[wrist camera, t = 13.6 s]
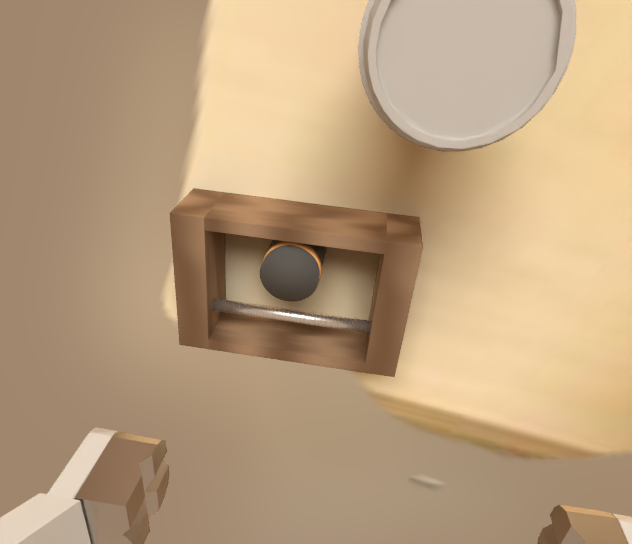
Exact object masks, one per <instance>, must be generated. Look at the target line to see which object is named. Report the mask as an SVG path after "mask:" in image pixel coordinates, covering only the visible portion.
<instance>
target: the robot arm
mask: <svg viewBox="0 0 632 544" xmlns="http://www.w3.org/2000/svg"><path fill="white" fill-rule="evenodd" d="M166 452H167V448H166V441H165V440H160V439H155V438H149V437H144V436H139V435H134V434H129V433H124V432H119V431H113V430H107V429H101V428H94V429H93V430H92V431H91V432H90V433H88V435H87V436H86V437H85V439H84V440H83V442H82V443H81V445H80V446H79V448H78V449H77V451H76V452H75V454H74V455H73V457H72V458H71V459H70V461H69V462H68V464H67V466H66V467H65V468H64V470H63V471H62V473H61V474H60V476H59V477H58V479H57V480H56V481H55V483H54V484H53V486H52V487H51V489H50V490H49V492H48V493H47V494H43V493H39V494H38V495H36V496H34V497H33V498H31V499H30V500H28V501H27V502H25V503H23V504H22V505H20V506H18V507H17V508H15V509H13V510H12V511H10V512H9V513H7V514H5V515H4V516H2V517H1V518H0V544H144V543H145V540H146V538H147V536H148V534H149V531H150V527H149V520H148V518H149V517H151V516H152V515H153V514H155V513H156V512H157V511H159V509H160V506H161V504H162V502H163V499H164V497H165V493H166V489H167V486H168V480H169V465H168V464H167V463H166V462H165V461H164V460H163V459H164V457H165V454H166ZM550 517H551V520H552V524H551V525H549V526H547V527H545V528H543V529H542V531H541V533H540V536H539V538H538V544H632V516H625V515H619V514H612V513H608V512H605V511H598V510H591V509H585V508H578V507H571V506H565V505H558V506H556V507H554V509H553V511H552V512H551V514H550Z"/></svg>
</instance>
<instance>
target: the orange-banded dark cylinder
mask: <svg viewBox="0 0 632 544" xmlns="http://www.w3.org/2000/svg"><path fill="white" fill-rule="evenodd" d="M325 251H326V247H325V246H318V245H310V244H303V243H295V242H288V241H280V240H273V241H272V243H271V245H270V248H269V250H268V251H267V253H266V255H265V257H264V259H263V262H262V266H261V269H260V278H261V281H262V284H263V285H264V287H265V288H266V290H267V291H268V292H269V293H270V294H272V295H273V296H275V297H277V298H279V299H281V300H285V301H300V300H303V299H305V298H307V297H309V296H310V295H311V294H312V293H313V292H314V291H315V289H316V287H317V285H318V282H319V279H320V275H321V270H322V264H323V260H324V255H325Z"/></svg>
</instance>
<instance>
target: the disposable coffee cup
mask: <svg viewBox="0 0 632 544" xmlns="http://www.w3.org/2000/svg"><path fill="white" fill-rule="evenodd" d="M575 35H576V6H575V0H369V2H368V4H367V7H366V10H365V13H364V16H363V19H362V24H361V29H360V36H359V45H358V52H359V68H360V73H361V77H362V82H363V86H364V88H365V90H366V93H367V95H368V98H369V100H370V102H371V104H372V106H373V107H374V109H375V110H376V112H377V113H378V115H379V116H380V118H381V119H382V120H383V121H384V122H385V123H386V124H387V125H388V126H389V127H390V128H391V129H392V130H393V131H395V132H396V133H397V134H399V135H400V136H401V137H403V138H404V139H406V140H408V141H410V142H413V143H415V144H417V145H419V146H421V147H426V148H430V149H435V150H439V151H466V150H472V149H477V148H482V147H485V146H487V145H490V144H492V143H495V142H497V141H500V140H503V139H504V138H506V137H507V136H509V135H511V134H512V133H514V132H515V131H517V130H519V129H520V128H522V127H523V126H524V125H525V124H527V123H528V122H529V121H530V120H531V119H532V118H533V117H534V116H535V115H536V114H537V113H538V112H539V111H541V110H542V108H543V107H544V106H545V104H546V103H547V102H548V100H549V99H550V98H551V96H552V95H553V94H554V92H555V91H556V89H557V87H558V85H559V83H560V82H561V80H562V78H563V76H564V74H565V72H566V70H567V67H568V64H569V61H570V58H571V55H572V52H573V46H574V41H575Z"/></svg>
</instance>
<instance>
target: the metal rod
mask: <svg viewBox="0 0 632 544" xmlns="http://www.w3.org/2000/svg"><path fill="white" fill-rule="evenodd" d="M211 309H212V311H219V312H225V313H232V314H239V315H246V316H253V317H260V318H267V319H274V320H280V321H287V322H294V323H301V324H308V325H315V326H322V327H329V328H336V329H342V330H349V331H356V332H363V333H370V329H371V321H367V320H360V319H353V318H346V317H339V316H332V315H325V314H318V313H311V312H304V311H297V310H290V309H284V308H277V307H270V306H263V305H256V304H249V303H242V302H235V301H228V300H221V299H213V301H212V305H211Z"/></svg>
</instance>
